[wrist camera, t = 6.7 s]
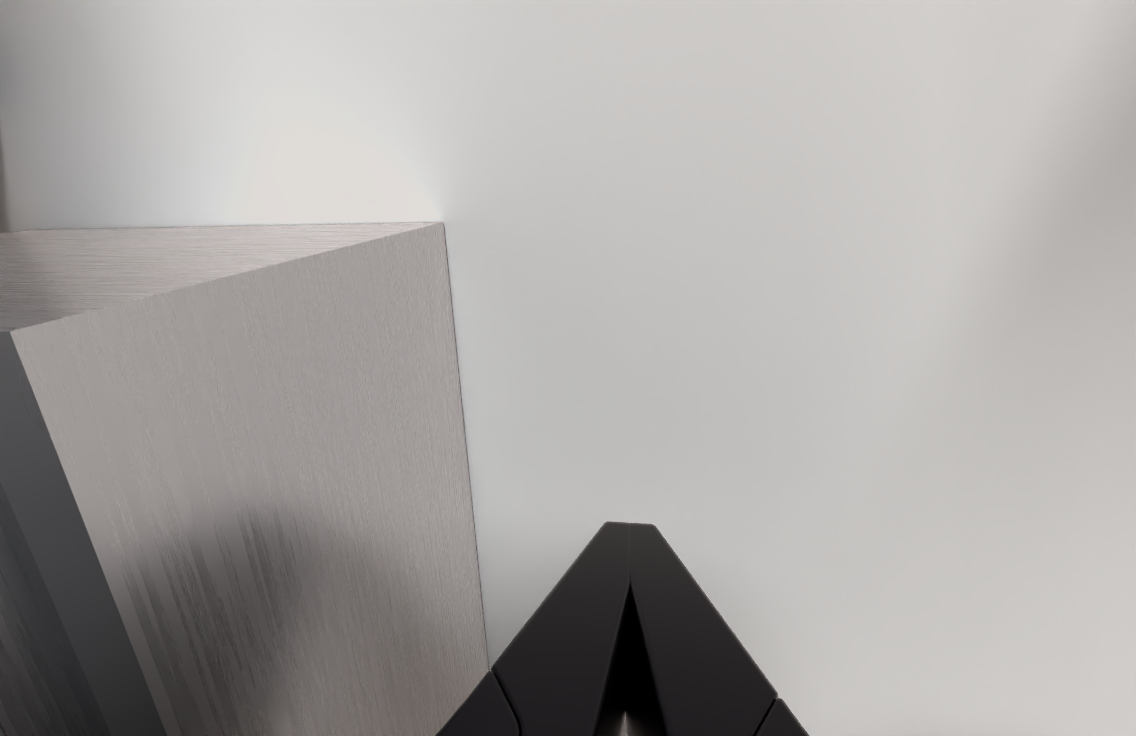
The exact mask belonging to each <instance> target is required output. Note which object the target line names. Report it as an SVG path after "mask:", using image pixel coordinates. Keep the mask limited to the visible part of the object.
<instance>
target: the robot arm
mask: <svg viewBox="0 0 1136 736" xmlns="http://www.w3.org/2000/svg"><path fill="white" fill-rule="evenodd" d="M625 712H626V722H627V733H628V736H809V735H808V733H807V732H806V731H805V730H804V728H803V727H802V726H801V724H800V723H799V722H798V720H797V719H796V717H795V716H794V715H793V713H792V712H791V711H790V709H789V708H788V706H787V705H786V704H785V702H784V701H783V700H782V699H780V698H778V693H777V692H776V690H775V689H774V688H773V686H772V685H771V683H770V682H769V681H768V679H767V678H766V677H765V675H764V674H763V673H762V671H761V670H760V668H759V667H758V666H757V664H756V663H755V662H754V660H753V659H752V657H751V656H750V655H749V653H748V652H747V651H746V649H745V648H744V647H743V645H742V644H741V642H740V641H739V640H738V638H737V637H736V636H735V634H734V633H733V631H732V630H731V629H730V627H729V626H728V625H727V623H726V622H725V621H724V619H723V618H722V616H721V615H720V614H719V612H718V611H717V610H716V608H715V607H714V606H713V604H712V603H711V601H710V600H709V599H708V597H707V596H706V595H705V593H704V592H703V590H702V589H701V588H700V586H699V585H698V584H697V582H696V581H695V580H694V578H693V577H692V575H691V574H690V573H689V571H688V570H687V569H686V567H685V566H684V564H683V563H682V562H681V560H680V559H679V558H678V556H677V555H676V554H675V552H674V551H673V549H672V548H671V547H670V545H669V544H668V543H667V541H666V540H665V539H664V537H663V536H662V534H661V533H660V532H659V530H658V529H657V528H656V526H654V525H653V524H641V523H625V522H606V523H604V525H603V526H602V527H601V528H600V530H599V531H598V532H597V533H596V535H595V536H594V537H593V539H592V540H591V541H590V542H589V544H588V545H587V546H586V547H585V549H584V550H583V551H582V553H581V554H580V555H579V556H578V558H577V559H576V560H575V561H574V563H573V564H572V565H571V567H570V568H569V569H568V570H567V572H566V573H565V574H564V575H563V577H562V578H561V579H560V581H559V582H558V583H557V584H556V586H555V587H554V588H553V590H552V591H551V592H550V593H549V595H548V596H547V597H546V598H545V600H544V601H543V602H542V604H541V605H540V606H539V607H538V609H537V610H536V611H535V612H534V614H533V615H532V616H531V618H530V619H529V620H528V621H527V623H526V624H525V625H524V627H523V628H522V629H521V630H520V632H519V633H518V634H517V635H516V637H515V638H514V639H513V641H512V642H511V643H510V644H509V646H508V647H507V648H506V649H505V651H504V652H503V653H502V655H501V656H500V657H499V658H498V660H497V661H496V662H495V664H494V665H493V666H492V668H491V671H488V672H487V673H486V674H485V676H484V677H483V678H482V680H481V681H480V682H479V683H478V685H477V686H476V687H475V689H474V690H473V691H472V693H471V694H470V695H469V696H468V697H467V699H466V700H465V701H464V702H463V703H462V705H461V706H460V707H459V708H458V709H457V711H456V712H455V713H454V714H453V715H452V717H451V718H450V719H449V720H448V721H447V723H446V724H445V725H444V726H443V727H442V728H441V730H440V731H439V732H438V733H437V734H436V735H435V736H622V731H623V724H624V716H625Z"/></svg>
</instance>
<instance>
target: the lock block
mask: <svg viewBox="0 0 1136 736" xmlns="http://www.w3.org/2000/svg"><path fill="white" fill-rule="evenodd" d="M488 671H489V668H488V658H487V648H486V638H485V628H484V619H483V609H482V599H481V589H480V579H479V569H478V559H477V550H476V540H475V530H474V520H473V510H472V500H471V490H470V481H469V471H468V461H467V451H466V441H465V431H464V421H463V412H462V402H461V392H460V382H459V372H458V362H457V352H456V343H455V333H454V323H453V313H452V303H451V293H450V283H449V273H448V264H447V254H446V244H445V234H444V224H443V222H423V223H371V224H318V225H266V226H214V227H162V228H110V229H57V230H27V231H16V232H5V233H0V736H435V735H436V734H437V733H438V732H439V731H440V730H441V728H442V727H443V726H444V725H445V724H446V723H447V721H448V720H449V719H450V718H451V717H452V715H453V714H454V713H455V712H456V711H457V709H458V708H459V707H460V706H461V705H462V703H463V702H464V701H465V700H466V699H467V697H468V696H469V695H470V694H471V693H472V691H473V690H474V689H475V687H476V686H477V685H478V683H479V682H480V681H481V680H482V678H483V677H484V676H485V674H486V673H487V672H488Z"/></svg>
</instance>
